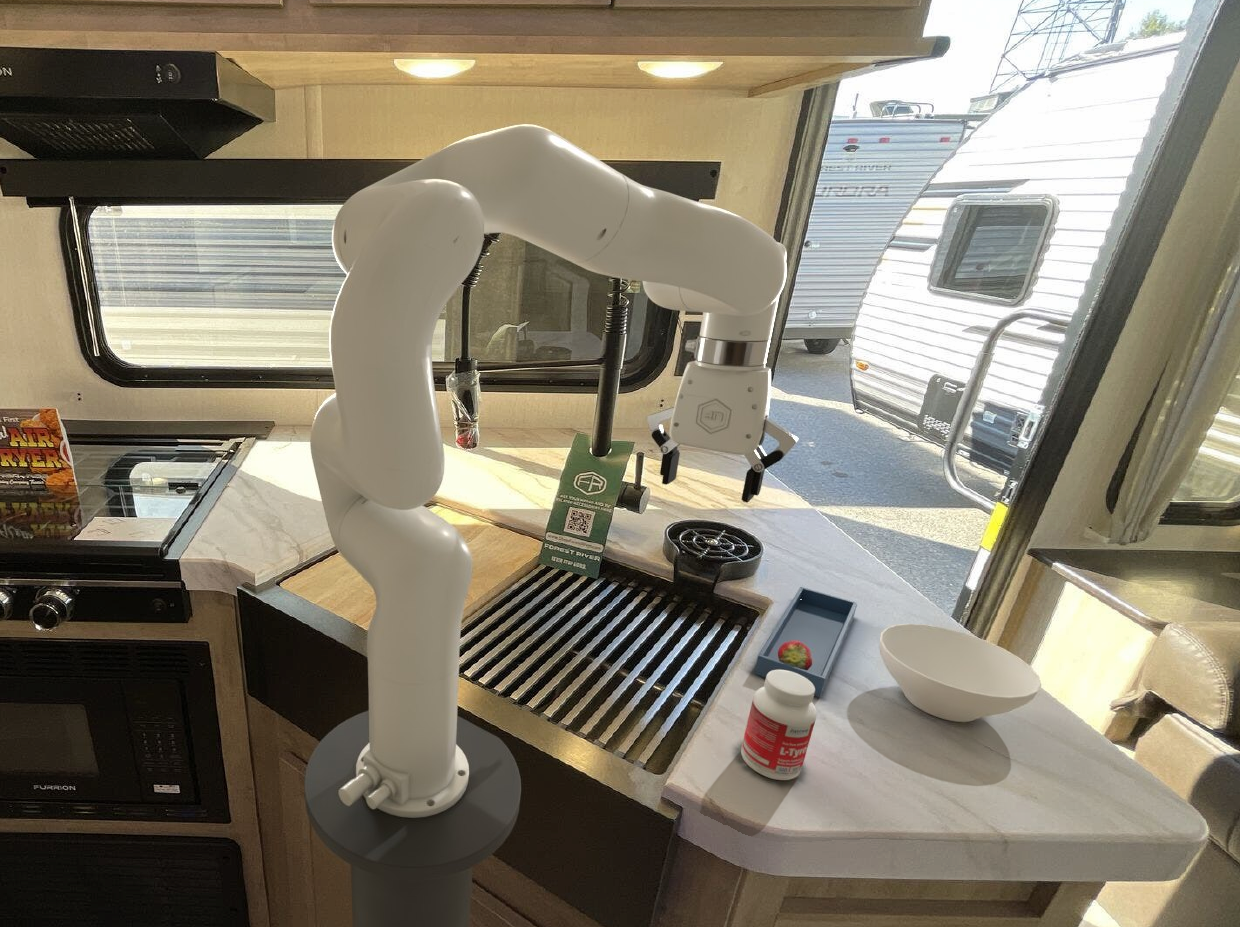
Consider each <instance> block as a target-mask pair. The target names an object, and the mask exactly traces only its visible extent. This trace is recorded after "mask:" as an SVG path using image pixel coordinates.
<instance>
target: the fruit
mask: <svg viewBox="0 0 1240 927" xmlns="http://www.w3.org/2000/svg"><path fill="white" fill-rule="evenodd" d="M778 658H779V661H780V662H783V663H786V664H789V665H792V666H795V667H798V668H801V669H804V670H806V671H807V670H808V669H809V668H810V667H811V666H812V657H811V652H810V650H809V648H808V647H807V646H806V645H805V644H803V643H802V642H799V641H789V642H786V643H784V644H783V645H782V646H781V647H780V648H779V650H778Z"/></svg>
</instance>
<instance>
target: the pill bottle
mask: <svg viewBox="0 0 1240 927" xmlns="http://www.w3.org/2000/svg"><path fill="white" fill-rule="evenodd" d="M814 693H815V687H814V685H813V684H812V683H811V682H810V681H809V680H808V679H807V678H805V677H803V676H802V675H800V674H797V673H795V672H791V671H787V670H772V671H770V672H769V673H768V674H767V676H766V678H765V679H764V683H763V686H761V687H760V688H757V689H756V691H755V692H754V694H753V698H752V702H751V705H750V708H749V709H750V710H749V714H748V715H749V716H748V718H747V723H746V725H745V726H746V727H745V730H744V736H743V739H742V744H741V748H740V754H741V756H742V759H743V761H744V762H745V763H746V764H747V765H748V766H749V767H750V768H751V769H752V770H753V771H755V772H756V773H758V774H760V775H762V776H764V777H765V778H769V779H772V780H778V781H790V780H793V779H796V778H798V776H799V775H800V774H801V772H802V769H803V766H804V762H805V758H806V755H807V751H808V747H809V745H810V740H811V738H812V734H813V730H814V727H815V723H816V720H817V713H818V712H817V708H816V706H815V704H814V703H813V700H814V697H815V696H814Z"/></svg>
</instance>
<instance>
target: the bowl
mask: <svg viewBox="0 0 1240 927" xmlns="http://www.w3.org/2000/svg"><path fill="white" fill-rule="evenodd" d="M878 650H879V655H880V657H881V659H882V661H883V663H884V665H885V668H886V670H887V671H888V672H889V675H890V676H891V677H892V678H893V679H894V680H895V682H896V683H897V685H898V686H899V688H900V689H901V690H902V692H903V694H904V696H905V698H906V699H907V700H908V701H909V703H911V704H912V705H913V706H915V707H916V708H917V709H919V710H921V711H923V712H924V713H926V714H929V715H931V716H933V717H936V718H939V719H942V720H946V721H950V722H957V723H967V722H973V721H975V720H977V719H981V718H985V717H991V716H997V715H1001V714H1005V713H1009V712H1012V711H1013V710H1016V709H1019V708H1020V707H1023V706H1025V705H1027V704H1028V703H1030V702H1031V701H1032V700H1033V699H1034V698H1035V697H1036V695H1038V692H1039V690H1040V689H1041V687H1042V682H1041V679H1040V675H1039V674H1038V673H1037V672H1036V671H1035V670H1034V668H1033V667H1032V666H1031V665H1030V664H1028V663H1027V662H1026V661H1024V660H1023V659H1022V658H1020V657H1019V656H1017V655H1016V654H1014V653H1012V652H1010V651H1009V650H1007V649H1005V648H1003V647H1001V646H998V645H997V644H995V643H992V642H991V641H988V640H985V639H983V638H980V637H977V636H975V635H972V634H969V633H967V632H963V631H958V630H955V629H951V628H947V627H942V626H936V625H930V624H922V623H921V624H919V623H902V624H901V623H900V624H894V625H891V626H888V627H886V628H885V629H883V631H882V632H880V637H879V643H878Z"/></svg>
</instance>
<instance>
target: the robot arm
mask: <svg viewBox="0 0 1240 927" xmlns="http://www.w3.org/2000/svg"><path fill="white" fill-rule="evenodd" d="M485 234H508V235H510V236H514V237H517V238H519V239H521V240H523V241H525V242H528V243H529V244H532V245H534V246H537V247H539V248H541V249H543V250H545V251H547V252H549V253H551V254H553V255H556V256H558V257H560V258H562V259H563V260H566V261H569V262H570V263H572V264H574V265H577V266H579V267H580V268H583V269H585V270H587V271H589V272H593V273H595V274H599V275H604V276H608V277H611V278H617V279H620V280H621V279H622V280H628V281H637V282H642V286H643V290H644V293H645V295H646V296H647V297H648V299H650V301H652V303H654V304H655V305H657V306H659V307H661V308H665V309H666V310H667V309H668V310H671V311H672V310H673V311H680V312H681V311H682V312H692V313H702V318H701V324H700V330H699V335H698V336H697V338H693V339H687V340H686V342H685V346H684V349H685V351H686V352H691V353H693V355H694V356H693V357H694V358H693V359H695V360H692V361H689V362H687V363H686V365H685V369H684V372H683V374H682V378H681V380H680V382H679V383H680V384H679V386H678V391H677V394H676V398H675V402H674V406H673V407H669V408H666V409H663V410H660V411H657V412H654V413H652V414H649V415H647V417H646V422H647V425H648V428H649V431H650V432H651V438H652V440H653V441H654V442H655V443H656V445H657V446H658V448H659V452H660V453H661V455H662V456H661V462H660V463H661V464H660V471H659V475H660V476H662V479H661V484H662V485H669V484H671V483H672V482H673V481H676V479H677V475H678V474H677V473H678V469H679V468H678V467H679V462H680V455H681V452H680V450H678V447H680V446H681V445H682V446H686V447H691V448H697V449H703V450H708V451H712V452H713V451H714V452H719V453H724V454H729V455H736V456H737V455H738V456H744V458H745V459H746V460H747V462H748V463H749V465H750V468H749V469H748V470H747V471H746V475H745V479H744V484H743V489H742V494H741V501H742V502H743V503H747V504H748V503H749V502H750V501H751V500H752V499H753V498H754V497H755V496H756V497H757V496H759V494H760V492H761V490H762V484H763V481H764V476H765V470H766V469H769V467H771V466H773V465H775V464H777V463H778V462H780V461H781V460H782V459H784V457H786V455H787V454H788V453H789V452H790V451H791V450H792V449H793V448H794V447H795V446H796V444H797V443H798V442H799V438H798V436H796V435H795V434H793V433H792V432H790V430H787V429H786V428H785V427H783V426H781V425H780V424H779V423H777V422H776V421H774V420H773V419H771V418H769V414H770V413H769V412H770V404H771V394H772V392H771V391H772V371H771V370H772V369H771V367H769V366H766V365H767V359H768V353H769V348H770V344H771V339H772V335H773V329H774V325H775V320H776V314H777V309H778V305H779V299H780V295H781V294H782V291H783V290H784V287H785V284H786V280H787V276H788V266H787V257H788V254H787V252H788V251H787V248H786V246H785V245H784V244H783V243H782V242H778V241H777V240H776V239H775V238H774V237H773V236H772V235H770V233H768V232H766V231H765V230H764V229H762V228H761V227H759V226H758V225H756V224H754V223H753V222H751V221H749V220H748V219H746V218H745V217H743V216H740V215H738V214H736V213H733V212H732V211H729V210H726V209H723V208H720V207H717V206H715V205H710V204H707V203H704V202H700V201H696V200H694V199H689V198H686V197H685V196H684V197H683V196H680V195H678V194H676V193H672V192H669V191H665V190H661V189H658V188H653V187H650V186H647V185H644V184H641V183H639V182H637V181H635V180H634V179H631V178H630V177H628V176H626V175H625V174H623V173H621V172H620V171H618V170H616V169H614V168H613V167H611V166H610V165H608V164H606V163H605V162H603V161H602V160H600V159H599V158H597V157H596V156H594V155H592V154H591V153H589V152H587V151H586V150H584V149H582V148H581V147H579V146H578V145H576V144H574V143H573V142H571V141H569V140H568V139H566V138H565V137H563V136H561V135H559V133H556V132H554V131H552V130H550V129H549V128H546V127H544V126H539V125H536V124H528V123H527V124H516V125H511V126H507V127H503V128H499V129H495V130H491V131H487V132H483V133H478V134H474V135H471V136H467V137H465V138H462V139H460V140H458V141H455V142H453V143H451V144H449V145H447V146H445V147H443V148H442V149H440V150H437V151H436V152H434V153H432V154H430V155H428V156H426V157H423V159H420V160H419V161H416V162H414V163H413V164H411V165H409V166H407V167H405V168H403V169H401V170H398V171H396V172H395V173H392V174H391V175H388V176H387V177H384V178H383V179H381V180H378V181H376V182H374V183H372V184H370V185H368V186H366V187H364V188H362V189H361V190H359V191H356V193H354V194H353V195H351V196H350V197H349V198H348V199H347V200H346V201H345V202H343V204H342V206H341V207H340V209H339V210H338V212H337V214H336V216H335V219H334V222H333V226H332V231H331V243H332V250H333V254H334V257H335V260H336V262H337V263H338V265H339V268H341V270H342V271H343V272H344V273H345V274H346V277H345V279H344V281H343V283H342V285H341V288H340V290H339V293H338V295H337V297H336V299H335V303H334V307H333V310H332V314H331V319H330V323H329V324H330V325H329V337H328V338H329V340H328V342H329V355H330V364H331V371H332V375H333V376H332V377H333V384H334V390H335V393H333V394H332V395H330V396H329V397H328V398H327V399H326V400H325V401H324V402H323V403H322V404H321V406H320V407H319V409H318V410H317V412H316V414H315V416H314V418H313V421H312V425H311V430H310V436H309V438H310V440H309V442H310V444H309V445H310V447H309V448H310V454H311V460H312V465H313V470H314V474H315V477H316V478H315V479H316V483H317V487H318V491H319V494H320V499H321V504H322V507H323V511H324V515H325V519H326V523H327V527H328V530H329V534H330V538H331V540H332V542H333V544H334V546H335V548H336V550H337V551H338V554H339V555H340V556H341V557H342V558H343V559H344V560H345V562H347V563H348V564H349V565H350V566H351V567H352V568H353V569H354V570H355V571H356V572H357V573H358V574H359V575H360V576H361V577H362V578H363V580H365V581H366V583H368V584H369V586H370V587H371V589H372V590H373V592H374V595H375V607H374V611H373V613H372V616H371V619H370V621H369V625H368V628H367V638H366V639H367V640H366V647H367V648H366V653H367V654H366V656H367V657H366V659H367V678H368V680H367V683H368V684H367V686H368V711H369V739H370V743H368V744H367V746H366V747H365V748H364V749H363V750H362V752H361V754H360V755H359V757H358V761H357V764H356V778H354V779H352V780H350V781H349V782H348V783H347V784H345V785H344V786H343V787H342V788H341V789H340V790H339V797H340V799H341V800H342V802H343V803H344V804H345V805H347V806H350V805H352V804H353V803H354V802H355V801H356V800H358V799H359V798H360V797H361V796H362V795H363V796H364V797H365V798H366V802H367V804H368V806H369V807H370V808H371V809H376V808H378V809H380V810H381V811H384V812H386V813H389V814H391V815H396V816H400V817H409V818H418V817H427V816H431V815H435V814H438V813H440V812H442V811H445V810H447V809H448V808H450V807H451V806H453V805H454V804H455V803H456V802H457V801H458V800H459V799H460V798H461V797H462V795H463V794H464V792H465V790H466V788H467V785H468V779H469V765H468V762H467V759H466V756H465V755H464V753H463V751H462V750H461V749H460V748H459V747H458V746H457V744H456V732H457V715H458V703H459V679H460V648H461V631H462V621H463V615H464V611H465V605H466V601H467V598H468V594H469V590H470V587H471V583H472V578H473V568H474V563H473V556H472V553H471V550H470V547H469V545H468V543H467V541H466V540H465V538H464V537H463V535H462V534H461V532H459V531H458V530H457V529H456V528H455V527H454V525H452V524H451V523H450V522H449V521H448V520H446V519H444V518H443V517H442V516H440V515H439V514H437V513H435V512H434V511H432V510H431V509H429V508H428V507H426V506H424V505H426V504H427V503H430V501H432V499H433V498H434V497H435V496H436V494H437V493H438V491H439V489H440V487H441V485H442V483H443V480H444V476H445V458H446V457H445V448H444V443H443V442H444V441H443V436H442V429H441V422H440V415H439V408H438V401H437V394H436V388H435V380H434V370H433V359H432V358H433V357H432V352H433V351H432V349H433V348H432V346H433V338H434V333H435V330H436V326H437V323H438V320H439V319H440V316H441V314H442V312H443V310H444V309H445V307H446V305H447V304H448V302H449V301H450V300H451V298H452V296H454V293H456V291H457V290H458V289H459V287H460V286H461V285H462V283H463V282H465V280H466V279H467V278H468V277H469V275H470V274H471V272H472V271H473V269H474V268H475V266H476V264H477V262H478V260H479V257H480V255H481V253H482V249H483V245H484V240H485ZM670 419H671V420H670ZM667 420H670V425H669V431H668V432H669V434H668V433H667V432H666V430H665V429H664V427H663V422H664V421H667ZM766 434H767V435H768V436H770V437H772V438H773V439H775V440H776V441H777V442H778V446H777V447H776V448H775V449H774V450H773V451H772V452H769V453H768V454H766V452H765V450H764V449H763V447H762V445H763V443H764V442H765V438H766Z"/></svg>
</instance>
